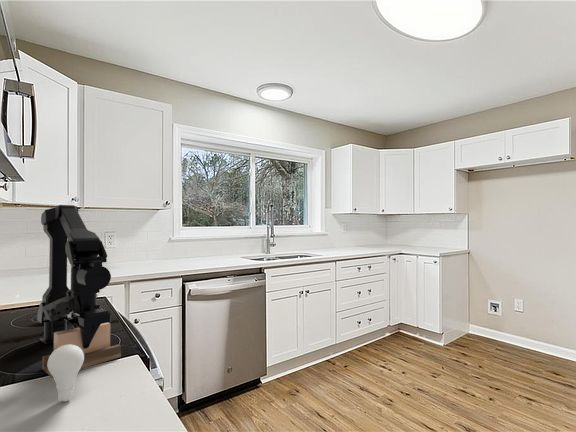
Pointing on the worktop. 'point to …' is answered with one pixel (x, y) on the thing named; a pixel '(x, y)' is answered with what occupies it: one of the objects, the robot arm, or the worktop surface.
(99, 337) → the tan rectangular block
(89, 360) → the track
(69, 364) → the lightbulb
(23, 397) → the worktop surface
